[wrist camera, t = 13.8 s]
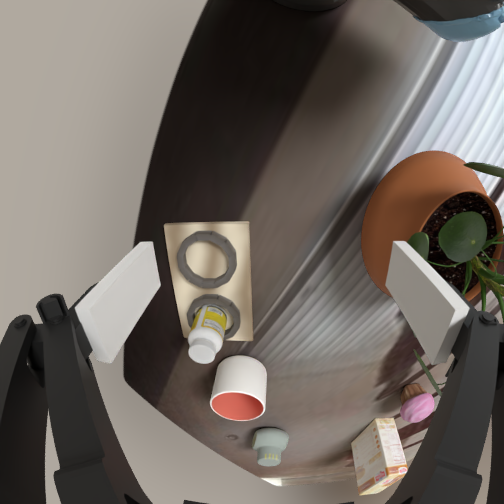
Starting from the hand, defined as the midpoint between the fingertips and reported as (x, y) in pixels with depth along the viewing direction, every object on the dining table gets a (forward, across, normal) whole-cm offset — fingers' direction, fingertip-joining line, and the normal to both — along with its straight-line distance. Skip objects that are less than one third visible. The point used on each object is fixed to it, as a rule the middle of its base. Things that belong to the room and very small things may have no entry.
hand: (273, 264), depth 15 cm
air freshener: (+27, 0, -64) cm, 69 cm away
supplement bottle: (+26, -10, -22) cm, 36 cm away
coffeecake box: (+27, +30, -68) cm, 79 cm away
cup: (+27, -6, -37) cm, 46 cm away
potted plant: (+27, +25, -4) cm, 37 cm away
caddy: (+27, -10, -17) cm, 33 cm away
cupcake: (+27, +35, -48) cm, 65 cm away
